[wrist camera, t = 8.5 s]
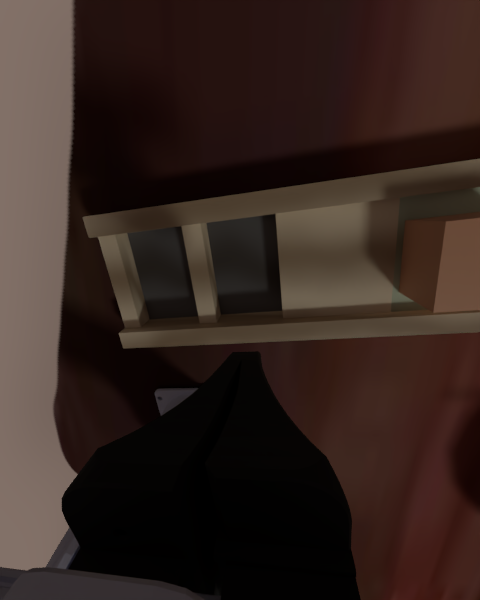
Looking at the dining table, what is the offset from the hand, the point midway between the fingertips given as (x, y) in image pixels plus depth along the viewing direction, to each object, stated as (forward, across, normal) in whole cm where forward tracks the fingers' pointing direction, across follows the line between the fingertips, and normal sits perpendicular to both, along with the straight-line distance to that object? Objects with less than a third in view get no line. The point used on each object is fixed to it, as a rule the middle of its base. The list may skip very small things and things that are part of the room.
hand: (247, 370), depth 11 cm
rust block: (+8, -13, -3) cm, 16 cm away
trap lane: (+10, -3, -3) cm, 11 cm away
